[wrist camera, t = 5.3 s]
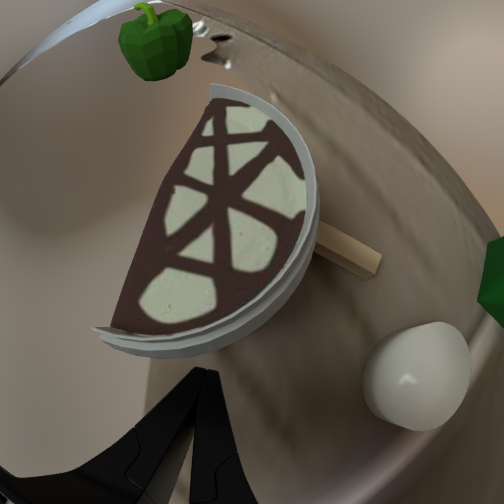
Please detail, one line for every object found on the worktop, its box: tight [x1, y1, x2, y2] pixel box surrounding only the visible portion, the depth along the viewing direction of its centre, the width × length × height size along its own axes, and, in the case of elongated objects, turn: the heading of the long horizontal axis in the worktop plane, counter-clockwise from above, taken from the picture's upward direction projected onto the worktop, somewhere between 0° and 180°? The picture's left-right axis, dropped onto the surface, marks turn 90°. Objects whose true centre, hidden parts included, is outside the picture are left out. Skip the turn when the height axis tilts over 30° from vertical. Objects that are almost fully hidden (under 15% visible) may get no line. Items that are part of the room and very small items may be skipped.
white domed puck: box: [362, 322, 471, 432], centre depth 14 cm, size 7×7×4 cm
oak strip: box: [313, 220, 382, 280], centre depth 19 cm, size 2×16×2 cm, turn 61°
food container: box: [92, 83, 320, 359], centre depth 13 cm, size 12×6×10 cm, turn 165°
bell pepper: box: [118, 2, 193, 81], centre depth 22 cm, size 8×8×10 cm
